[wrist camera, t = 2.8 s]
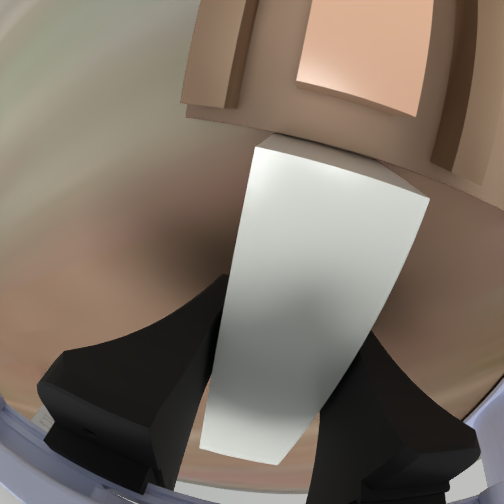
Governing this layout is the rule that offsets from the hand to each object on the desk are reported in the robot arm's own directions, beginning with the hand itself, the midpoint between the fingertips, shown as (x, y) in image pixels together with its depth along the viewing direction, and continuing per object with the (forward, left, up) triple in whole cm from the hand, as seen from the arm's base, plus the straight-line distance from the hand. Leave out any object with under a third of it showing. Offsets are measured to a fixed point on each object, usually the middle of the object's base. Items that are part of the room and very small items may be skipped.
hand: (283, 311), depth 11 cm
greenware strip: (0, 0, -2) cm, 2 cm away
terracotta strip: (0, -13, 0) cm, 13 cm away
